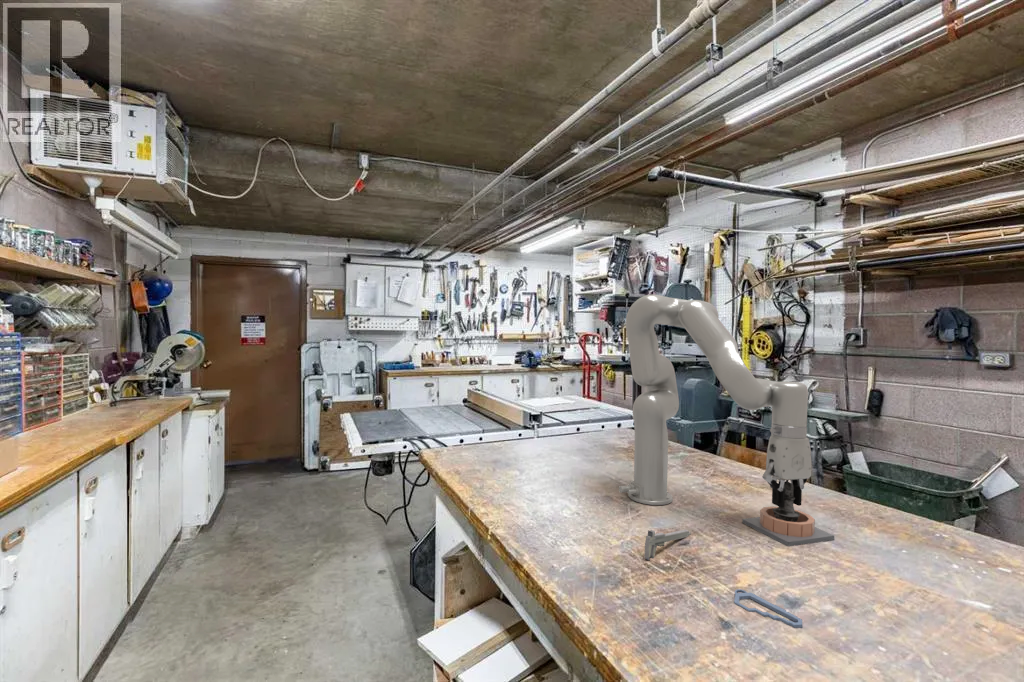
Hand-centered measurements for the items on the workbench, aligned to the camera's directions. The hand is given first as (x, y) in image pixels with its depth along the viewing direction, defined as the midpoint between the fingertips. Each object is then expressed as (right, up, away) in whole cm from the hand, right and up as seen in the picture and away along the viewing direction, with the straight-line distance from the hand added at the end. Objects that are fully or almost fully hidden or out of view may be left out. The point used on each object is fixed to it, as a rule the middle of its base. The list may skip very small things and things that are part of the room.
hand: (786, 503), depth 117 cm
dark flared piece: (0, -6, 0) cm, 6 cm away
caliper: (-32, -7, -10) cm, 34 cm away
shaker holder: (0, -7, 0) cm, 7 cm away
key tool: (-24, -7, -34) cm, 43 cm away
